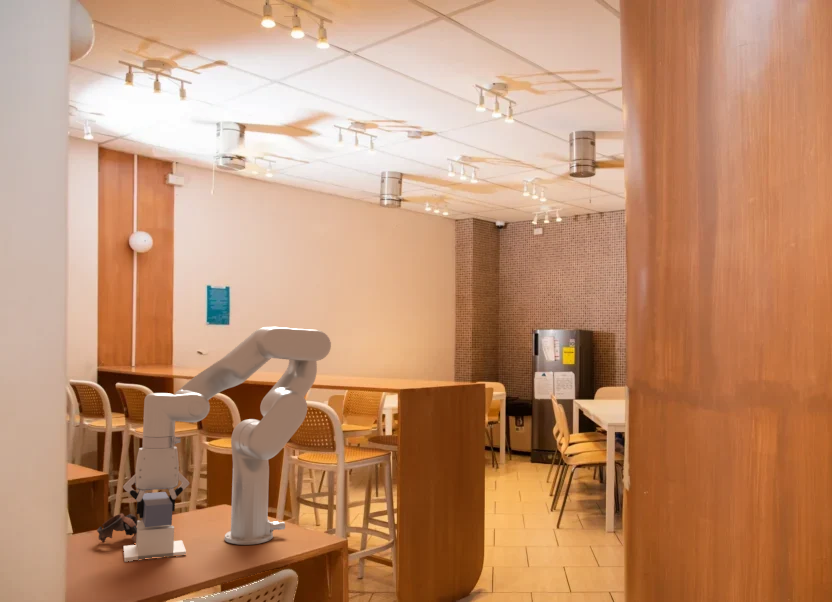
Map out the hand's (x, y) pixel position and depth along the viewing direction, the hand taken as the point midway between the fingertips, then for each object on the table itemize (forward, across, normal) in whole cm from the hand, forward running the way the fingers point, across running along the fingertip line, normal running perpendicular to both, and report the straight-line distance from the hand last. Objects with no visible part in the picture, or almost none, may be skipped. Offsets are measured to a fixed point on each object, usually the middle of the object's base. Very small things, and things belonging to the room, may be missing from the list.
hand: (155, 514), depth 174 cm
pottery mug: (+10, +7, -13) cm, 18 cm away
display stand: (+9, 0, 0) cm, 9 cm away
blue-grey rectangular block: (+1, 0, 0) cm, 1 cm away
